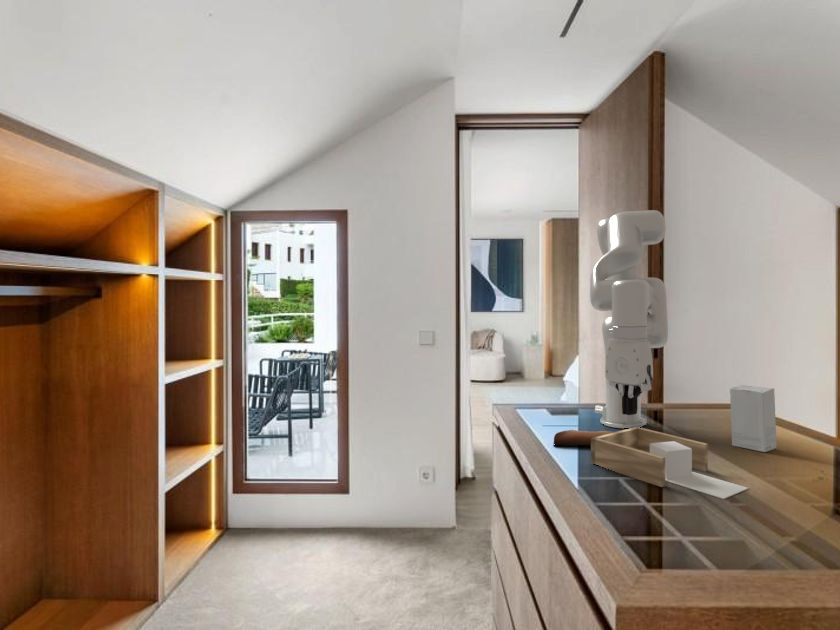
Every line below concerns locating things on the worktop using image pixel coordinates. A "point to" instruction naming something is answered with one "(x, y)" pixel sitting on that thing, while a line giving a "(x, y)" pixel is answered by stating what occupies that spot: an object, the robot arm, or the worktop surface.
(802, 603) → the worktop surface
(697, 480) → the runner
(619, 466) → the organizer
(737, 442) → the skincare box
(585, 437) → the sunglasses case
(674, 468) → the white cube
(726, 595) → the worktop surface
